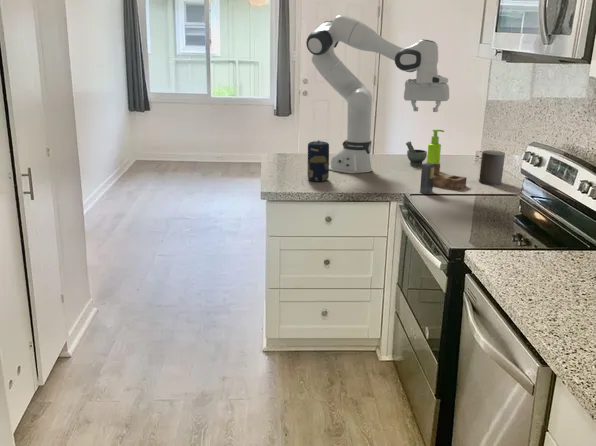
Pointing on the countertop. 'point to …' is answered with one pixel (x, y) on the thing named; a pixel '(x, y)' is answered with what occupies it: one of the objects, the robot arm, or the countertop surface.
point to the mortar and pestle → (415, 155)
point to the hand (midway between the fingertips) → (425, 111)
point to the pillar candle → (491, 167)
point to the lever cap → (427, 178)
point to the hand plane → (447, 179)
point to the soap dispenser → (434, 149)
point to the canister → (318, 161)
